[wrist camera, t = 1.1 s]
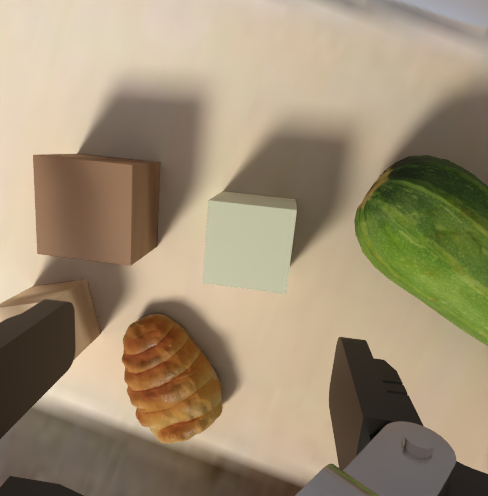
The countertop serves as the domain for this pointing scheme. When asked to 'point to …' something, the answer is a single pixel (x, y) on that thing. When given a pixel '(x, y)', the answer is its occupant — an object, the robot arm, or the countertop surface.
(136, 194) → the walnut block
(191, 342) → the pastry
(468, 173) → the vegetable
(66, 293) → the birch block
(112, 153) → the countertop surface
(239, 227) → the sage cube
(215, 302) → the countertop surface
